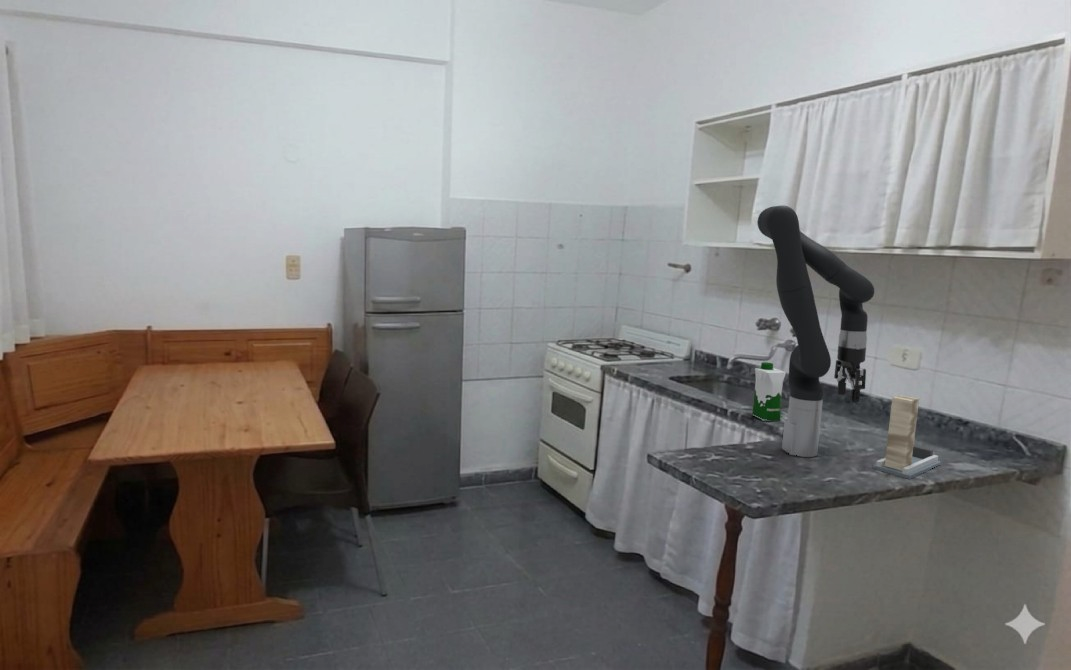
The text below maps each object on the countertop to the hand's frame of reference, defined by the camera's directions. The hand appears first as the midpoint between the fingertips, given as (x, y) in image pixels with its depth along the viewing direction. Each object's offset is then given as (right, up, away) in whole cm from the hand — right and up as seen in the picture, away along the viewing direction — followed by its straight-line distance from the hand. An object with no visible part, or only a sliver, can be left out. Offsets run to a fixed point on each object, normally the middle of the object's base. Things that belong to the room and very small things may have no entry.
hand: (847, 398), depth 197 cm
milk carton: (-11, -12, +39) cm, 42 cm away
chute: (+13, -19, -8) cm, 25 cm away
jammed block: (+8, -18, -12) cm, 23 cm away
